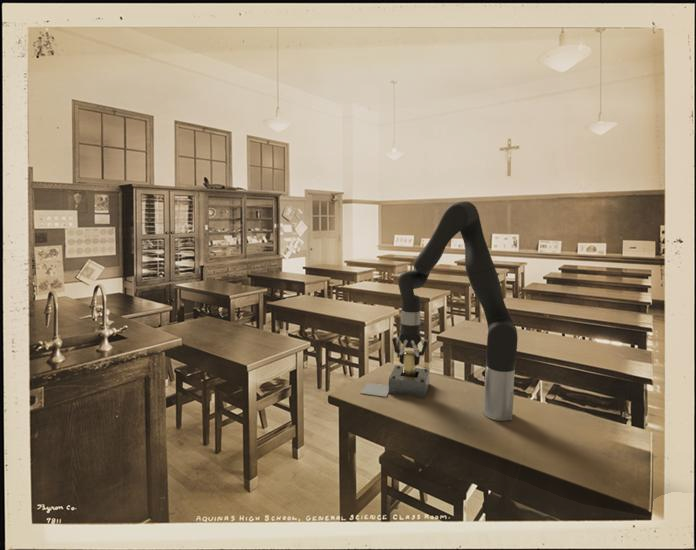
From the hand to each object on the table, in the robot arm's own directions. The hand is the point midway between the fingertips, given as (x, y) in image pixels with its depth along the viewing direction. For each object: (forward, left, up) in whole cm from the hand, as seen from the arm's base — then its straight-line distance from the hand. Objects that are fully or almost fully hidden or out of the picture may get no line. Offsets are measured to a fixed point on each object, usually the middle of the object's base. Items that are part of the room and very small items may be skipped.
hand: (409, 363), depth 160 cm
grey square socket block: (0, 0, -10) cm, 10 cm away
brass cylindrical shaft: (0, 0, -7) cm, 7 cm away
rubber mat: (+12, +6, -10) cm, 16 cm away
